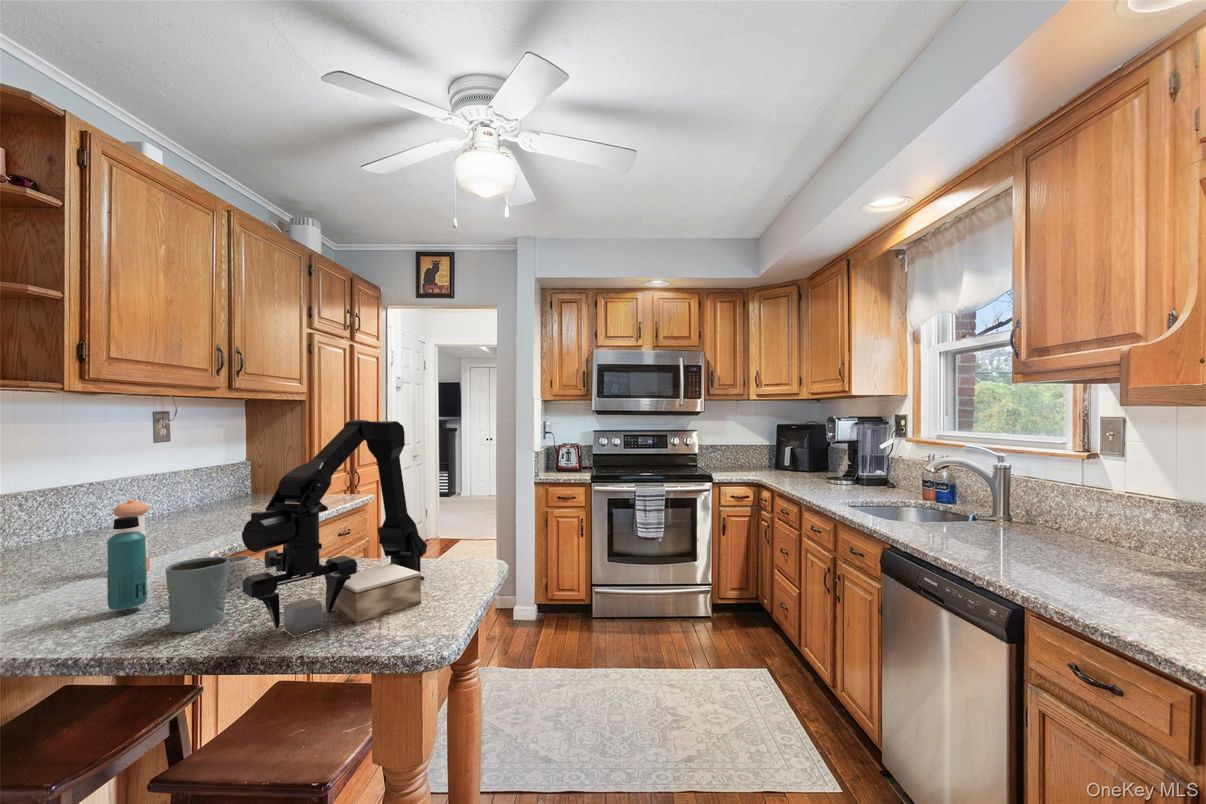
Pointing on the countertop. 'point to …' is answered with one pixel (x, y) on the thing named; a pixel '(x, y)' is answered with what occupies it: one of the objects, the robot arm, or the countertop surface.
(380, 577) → the lid
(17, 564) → the countertop surface
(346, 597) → the box
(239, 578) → the mug
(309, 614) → the block
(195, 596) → the gray green planter pot
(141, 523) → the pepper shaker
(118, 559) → the beverage bottle
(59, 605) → the countertop surface
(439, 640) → the countertop surface
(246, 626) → the countertop surface
